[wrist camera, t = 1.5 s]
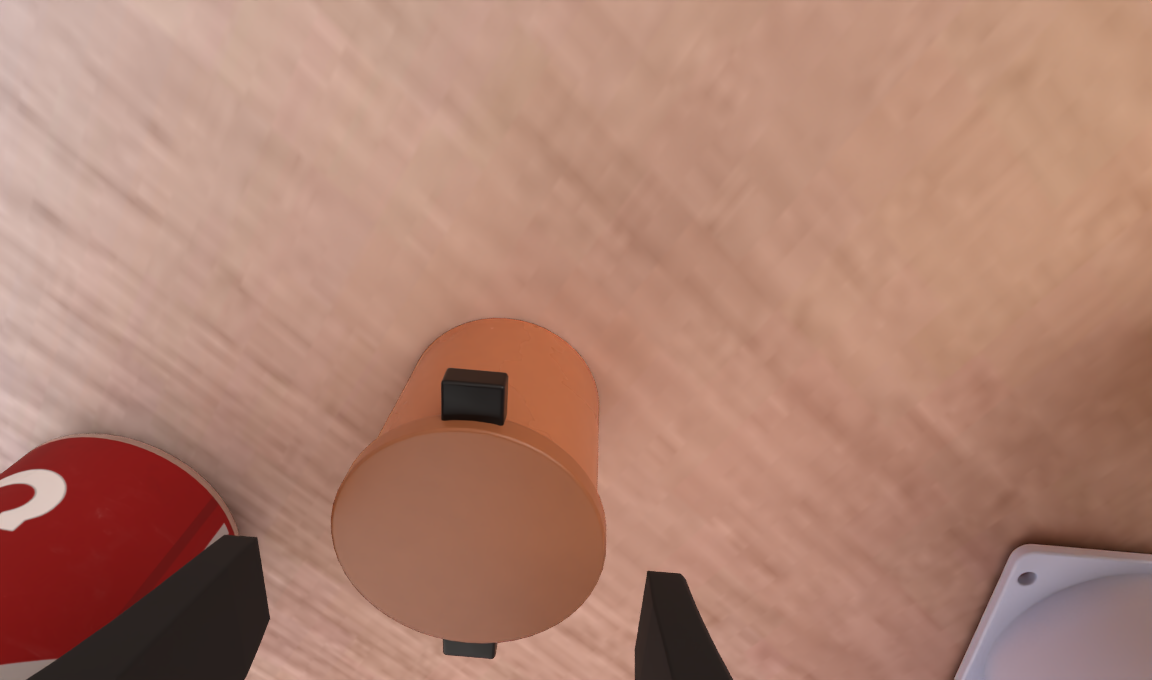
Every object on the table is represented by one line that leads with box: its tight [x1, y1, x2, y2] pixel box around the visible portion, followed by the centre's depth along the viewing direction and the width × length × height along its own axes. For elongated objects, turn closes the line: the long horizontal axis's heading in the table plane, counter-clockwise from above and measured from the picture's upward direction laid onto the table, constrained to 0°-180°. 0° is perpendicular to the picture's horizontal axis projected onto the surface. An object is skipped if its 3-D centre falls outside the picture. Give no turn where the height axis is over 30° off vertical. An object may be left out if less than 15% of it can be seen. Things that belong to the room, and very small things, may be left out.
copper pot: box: [331, 318, 606, 659], centre depth 17 cm, size 7×6×6 cm
